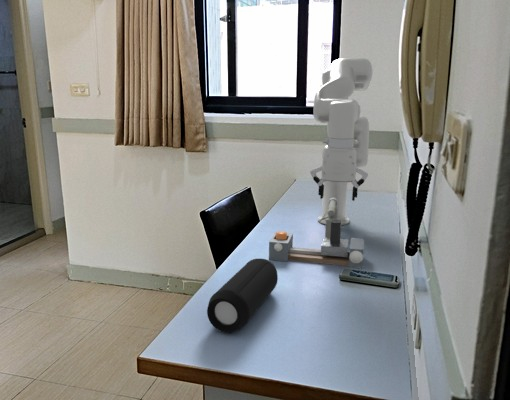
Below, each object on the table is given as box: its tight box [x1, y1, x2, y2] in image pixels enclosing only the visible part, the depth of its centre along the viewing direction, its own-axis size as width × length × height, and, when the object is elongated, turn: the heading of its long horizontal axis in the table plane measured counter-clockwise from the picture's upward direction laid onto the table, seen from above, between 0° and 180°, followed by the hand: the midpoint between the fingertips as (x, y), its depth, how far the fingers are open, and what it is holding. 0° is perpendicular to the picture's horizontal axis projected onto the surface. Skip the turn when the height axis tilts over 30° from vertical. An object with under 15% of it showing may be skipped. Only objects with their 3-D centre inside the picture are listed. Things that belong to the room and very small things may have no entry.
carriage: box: [320, 220, 350, 257], centre depth 146 cm, size 8×8×10 cm
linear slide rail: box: [268, 231, 365, 269], centre depth 148 cm, size 10×29×6 cm, turn 77°
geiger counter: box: [318, 197, 339, 238], centre depth 166 cm, size 14×6×25 cm
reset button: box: [275, 230, 288, 240], centre depth 150 cm, size 4×4×4 cm
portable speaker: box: [206, 258, 279, 333], centre depth 114 cm, size 26×10×10 cm, turn 159°
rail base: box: [288, 246, 350, 267], centre depth 149 cm, size 8×29×2 cm, turn 77°
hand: (337, 198), depth 143 cm, fingers open, 9 cm apart
